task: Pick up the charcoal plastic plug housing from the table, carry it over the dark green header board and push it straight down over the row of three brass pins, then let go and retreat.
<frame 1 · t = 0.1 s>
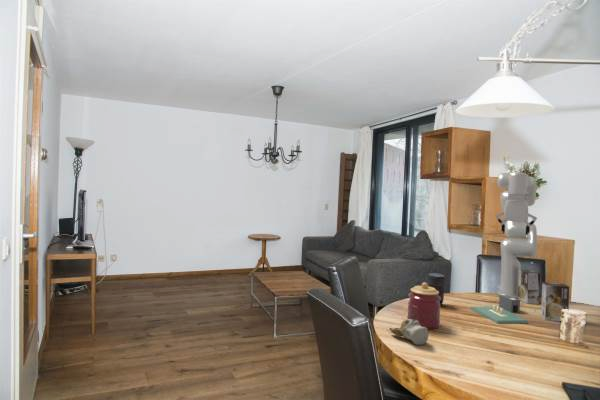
hand: (515, 233, 184), 37 cm above the table, fingers open, 9 cm apart
canister: (423, 325, 159), on the table
ceramic sculpture: (411, 340, 142), on the table
plug housing: (508, 309, 185), on the table
camera lens: (434, 305, 189), on the table
coffee box: (528, 301, 202), on the table
header board: (497, 315, 175), on the table
coffee box 2: (553, 319, 173), on the table
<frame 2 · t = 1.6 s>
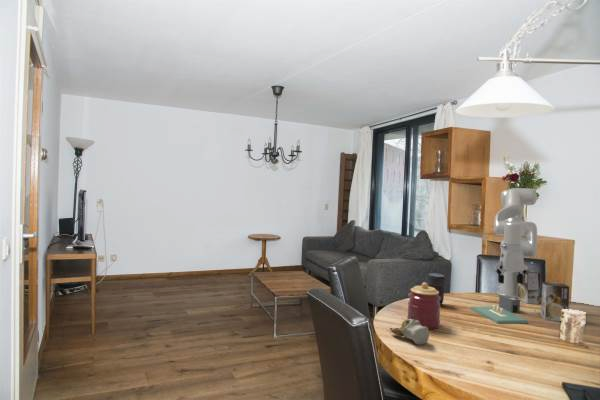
hand: (510, 283, 185), 13 cm above the table, fingers open, 9 cm apart
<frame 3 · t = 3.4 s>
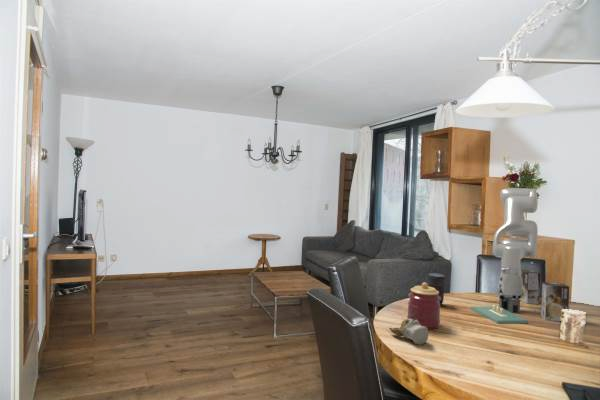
hand: (509, 308, 185), 1 cm above the table, fingers closed on plug housing, 4 cm apart
plug housing: (509, 309, 185), on the table, touching gripper
everything else where it was.
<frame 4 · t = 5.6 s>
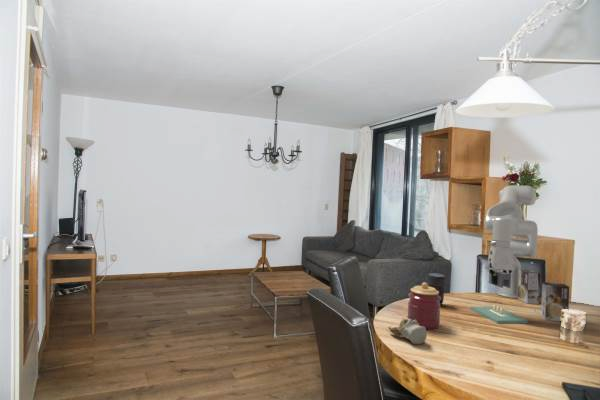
hand: (499, 283, 175), 15 cm above the table, fingers closed on plug housing, 4 cm apart
plug housing: (499, 285, 174), point 14 cm above the table, touching gripper
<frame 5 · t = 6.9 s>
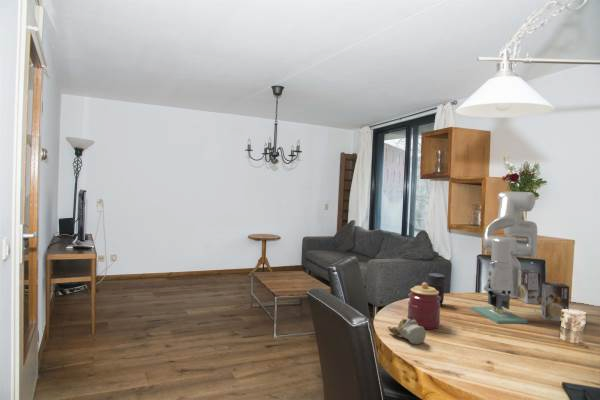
hand: (498, 304, 175), 5 cm above the table, fingers closed on plug housing, 4 cm apart
plug housing: (498, 306, 175), point 5 cm above the table, touching gripper
when the fingers open (2 cm above the table, at t = 7.8 s): plug housing stays where it is, resting on header board.
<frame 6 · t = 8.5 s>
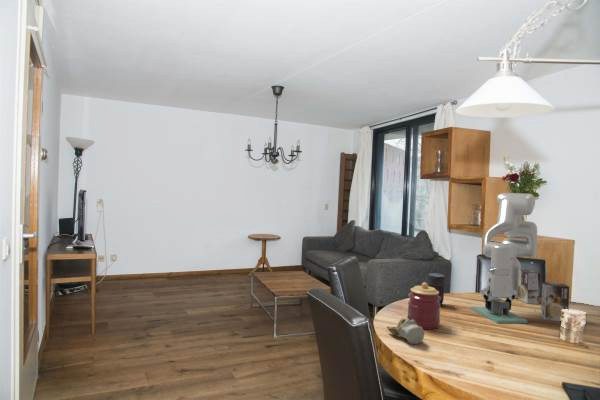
hand: (498, 309, 175), 3 cm above the table, fingers open, 9 cm apart
plug housing: (498, 312, 175), point 1 cm above the table, touching header board
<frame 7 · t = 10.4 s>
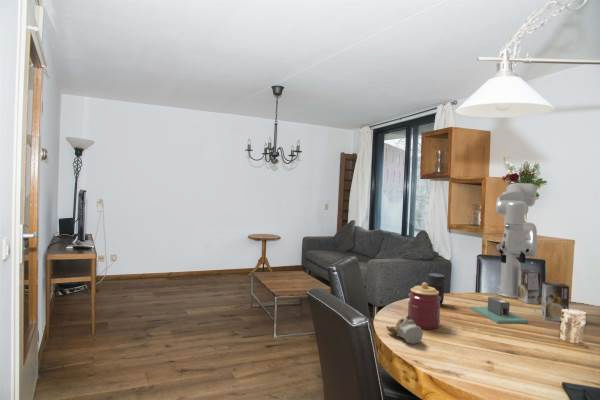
hand: (512, 262, 185), 23 cm above the table, fingers open, 9 cm apart
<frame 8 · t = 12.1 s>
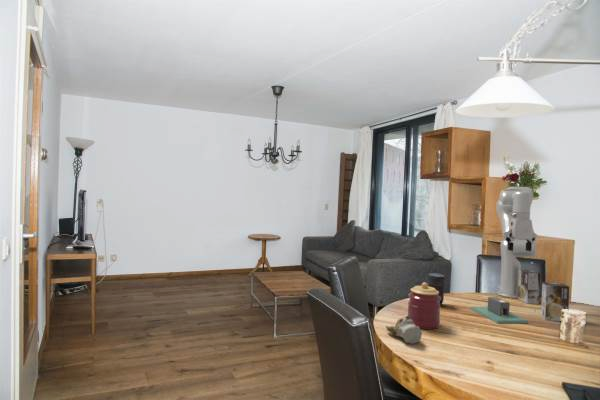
hand: (519, 250, 190), 28 cm above the table, fingers open, 9 cm apart
at the end: plug housing 0.1 cm off-centre on the header board, point 1.3 cm above the header board's base; plug housing tilted 0° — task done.
